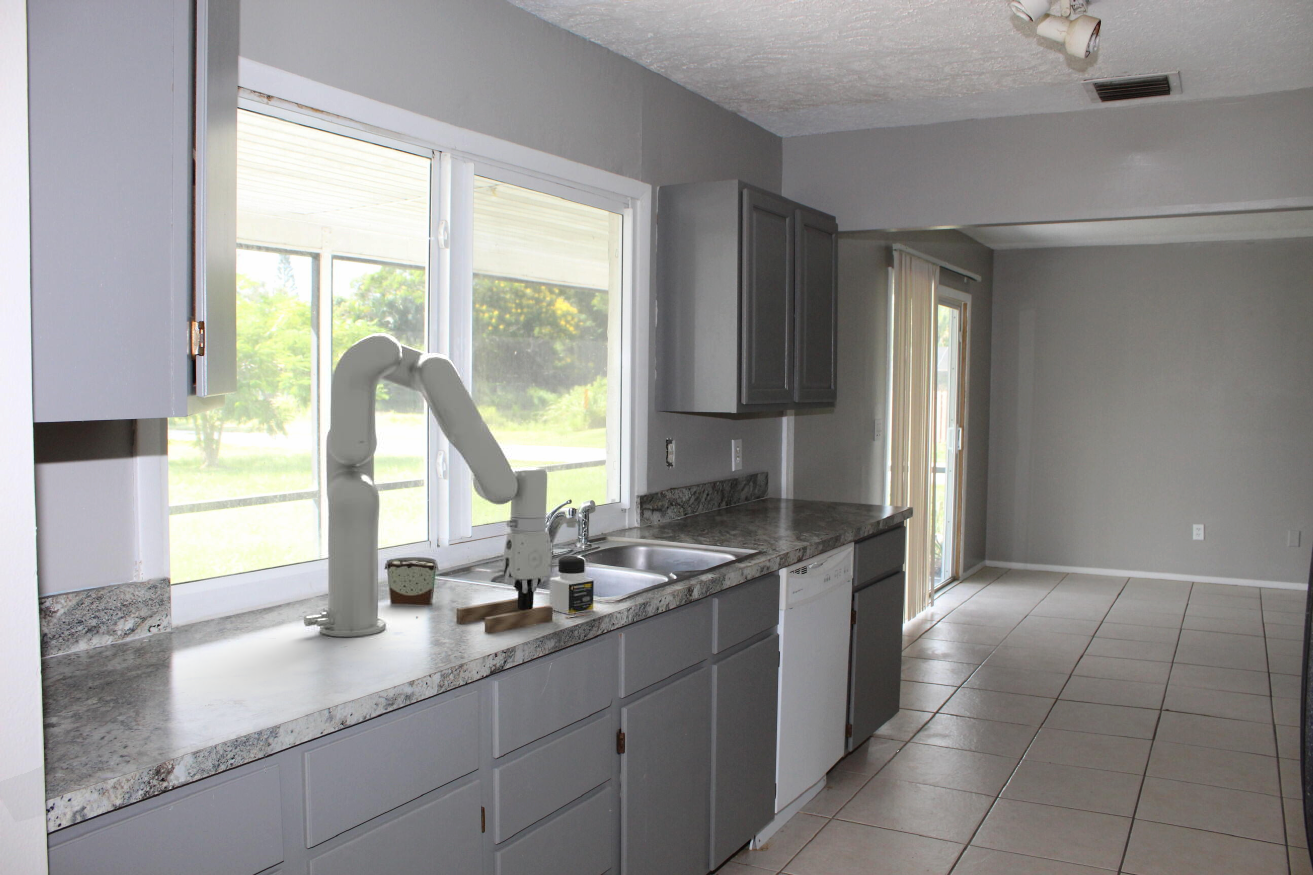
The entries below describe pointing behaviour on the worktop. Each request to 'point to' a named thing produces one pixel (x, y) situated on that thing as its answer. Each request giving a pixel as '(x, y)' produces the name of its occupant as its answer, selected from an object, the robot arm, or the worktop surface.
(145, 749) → the worktop surface
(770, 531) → the worktop surface
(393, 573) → the food container
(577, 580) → the medicine bottle
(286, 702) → the worktop surface
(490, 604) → the chute
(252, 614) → the worktop surface
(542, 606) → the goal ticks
